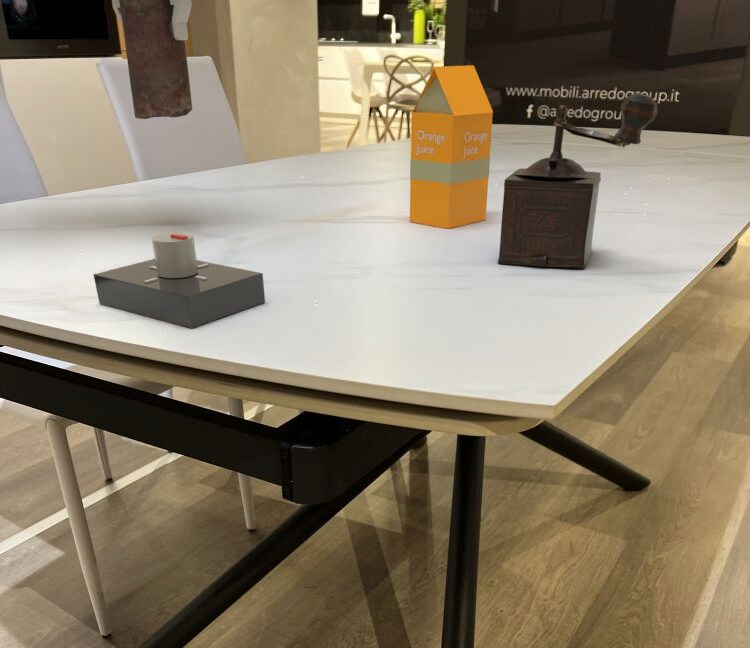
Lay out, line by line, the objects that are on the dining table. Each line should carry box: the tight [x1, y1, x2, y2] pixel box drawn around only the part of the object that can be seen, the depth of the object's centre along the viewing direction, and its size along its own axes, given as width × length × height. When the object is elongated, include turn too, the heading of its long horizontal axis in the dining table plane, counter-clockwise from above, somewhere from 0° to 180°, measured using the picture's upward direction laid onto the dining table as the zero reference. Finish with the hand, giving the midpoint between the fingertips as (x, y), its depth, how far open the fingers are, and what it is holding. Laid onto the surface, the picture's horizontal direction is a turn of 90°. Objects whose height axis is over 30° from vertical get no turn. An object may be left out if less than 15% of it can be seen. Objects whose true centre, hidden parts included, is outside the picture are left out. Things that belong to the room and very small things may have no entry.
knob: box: [151, 232, 198, 278], centre depth 74 cm, size 4×4×4 cm
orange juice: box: [409, 64, 494, 230], centre depth 106 cm, size 8×9×20 cm
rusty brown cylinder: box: [119, 0, 193, 120], centre depth 91 cm, size 8×7×20 cm
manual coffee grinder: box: [497, 92, 659, 269], centre depth 86 cm, size 16×11×18 cm
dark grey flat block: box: [93, 258, 266, 329], centre depth 75 cm, size 14×10×3 cm
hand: (156, 40), depth 92 cm, fingers closed on rusty brown cylinder, 7 cm apart
